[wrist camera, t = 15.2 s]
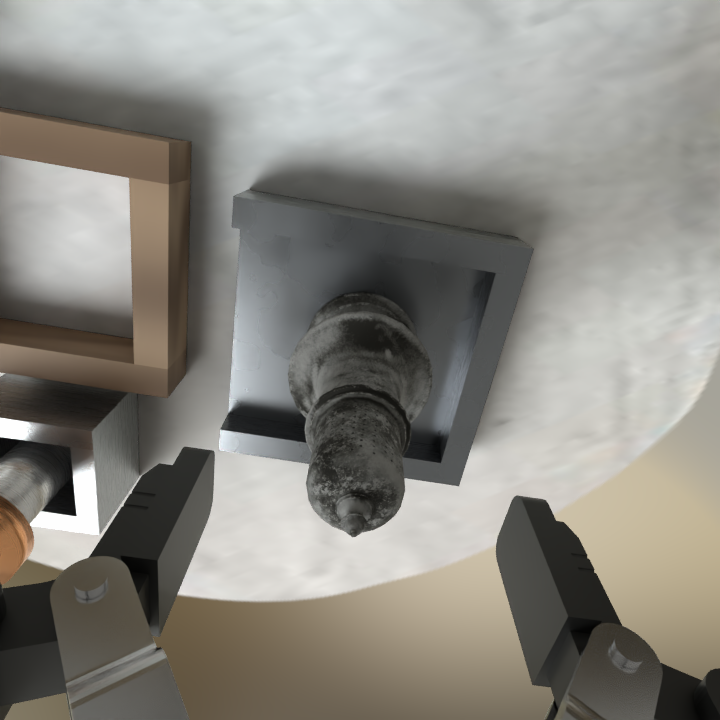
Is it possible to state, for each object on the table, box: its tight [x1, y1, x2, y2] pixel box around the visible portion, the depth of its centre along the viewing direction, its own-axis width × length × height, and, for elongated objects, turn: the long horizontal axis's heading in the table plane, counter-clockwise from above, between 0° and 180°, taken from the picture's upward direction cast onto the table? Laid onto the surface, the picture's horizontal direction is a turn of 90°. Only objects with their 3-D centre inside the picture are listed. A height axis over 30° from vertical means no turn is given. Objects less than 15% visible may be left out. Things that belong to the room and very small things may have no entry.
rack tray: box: [219, 190, 533, 486], centre depth 23 cm, size 12×12×2 cm
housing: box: [0, 373, 139, 535], centre depth 24 cm, size 6×6×4 cm
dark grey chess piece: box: [288, 292, 432, 537], centre depth 18 cm, size 6×6×12 cm
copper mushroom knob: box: [0, 440, 73, 585], centre depth 22 cm, size 4×4×7 cm
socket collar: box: [0, 107, 191, 398], centre depth 21 cm, size 11×11×2 cm
